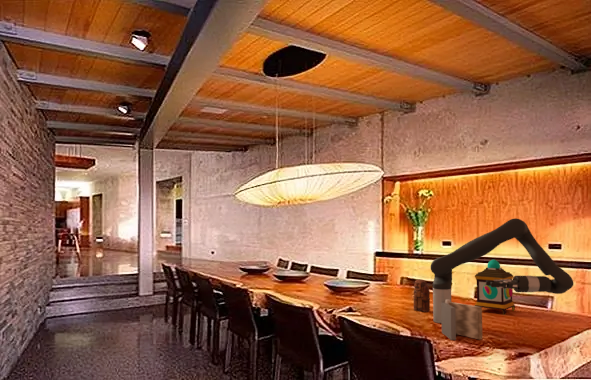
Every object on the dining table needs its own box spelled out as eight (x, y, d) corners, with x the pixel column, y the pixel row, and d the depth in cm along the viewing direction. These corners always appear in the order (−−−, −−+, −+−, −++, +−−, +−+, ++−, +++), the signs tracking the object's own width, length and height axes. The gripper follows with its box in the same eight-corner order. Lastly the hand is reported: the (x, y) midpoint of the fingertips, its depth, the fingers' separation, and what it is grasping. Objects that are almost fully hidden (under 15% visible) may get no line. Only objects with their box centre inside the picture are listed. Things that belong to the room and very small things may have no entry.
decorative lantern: (518, 310, 277) (516, 259, 279) (507, 315, 263) (505, 261, 265) (483, 306, 291) (482, 257, 293) (471, 311, 276) (470, 259, 278)
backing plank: (440, 331, 226) (439, 299, 227) (450, 331, 226) (449, 299, 226) (451, 340, 209) (450, 305, 210) (462, 340, 209) (461, 305, 210)
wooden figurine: (409, 309, 281) (409, 278, 282) (417, 308, 284) (416, 278, 286) (425, 312, 271) (424, 281, 272) (432, 311, 275) (432, 280, 276)
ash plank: (449, 332, 222) (448, 302, 223) (452, 331, 223) (451, 301, 224) (479, 339, 209) (478, 307, 210) (482, 338, 210) (481, 307, 211)
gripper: (518, 273, 223) (482, 273, 223) (533, 277, 209) (494, 277, 209) (518, 289, 222) (482, 289, 222) (534, 294, 208) (495, 294, 208)
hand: (488, 283), depth 215 cm, fingers open, 5 cm apart
